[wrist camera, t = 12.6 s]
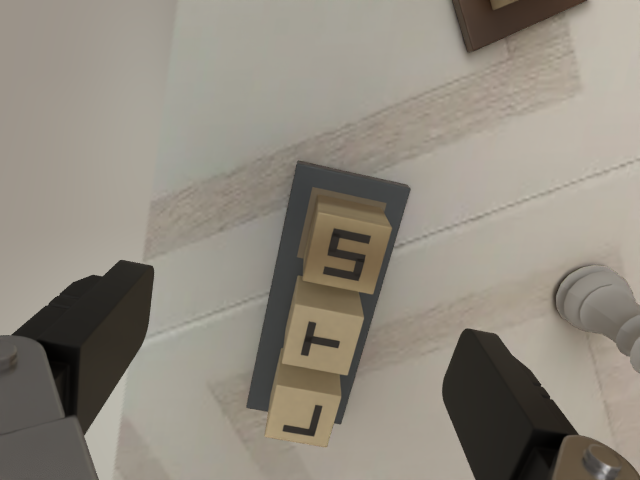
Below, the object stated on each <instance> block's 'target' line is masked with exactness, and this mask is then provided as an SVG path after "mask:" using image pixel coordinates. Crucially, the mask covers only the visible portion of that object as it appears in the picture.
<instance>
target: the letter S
mask: <svg viewBox="0 0 640 480" xmlns="http://www.w3.org/2000/svg"><path fill="white" fill-rule="evenodd" d="M391 231H392V227H391V225H390V223H389V221H388V219H387V217H386V216H385V214H384V212H383V210H382V208H380V207H375V206H370V205H366V204H361V203H356V202H352V201H347V200H342V199H338V198H333V197H329V196H324V195H317V199H316V204H315V208H314V212H313V217H312V221H311V226H310V230H309V235H308V239H307V244H306V248H305V252H304V263H303V278H302V280H303V281H307V282H312V283H317V284H322V285H327V286H332V287H337V288H342V289H347V290H352V291H357V292H362V293H367V294H373V293H374V289H375V286H376V282H377V279H378V276H379V272H380V269H381V265H382V262H383V258H384V255H385V251H386V248H387V244H388V241H389V237H390V234H391Z"/></svg>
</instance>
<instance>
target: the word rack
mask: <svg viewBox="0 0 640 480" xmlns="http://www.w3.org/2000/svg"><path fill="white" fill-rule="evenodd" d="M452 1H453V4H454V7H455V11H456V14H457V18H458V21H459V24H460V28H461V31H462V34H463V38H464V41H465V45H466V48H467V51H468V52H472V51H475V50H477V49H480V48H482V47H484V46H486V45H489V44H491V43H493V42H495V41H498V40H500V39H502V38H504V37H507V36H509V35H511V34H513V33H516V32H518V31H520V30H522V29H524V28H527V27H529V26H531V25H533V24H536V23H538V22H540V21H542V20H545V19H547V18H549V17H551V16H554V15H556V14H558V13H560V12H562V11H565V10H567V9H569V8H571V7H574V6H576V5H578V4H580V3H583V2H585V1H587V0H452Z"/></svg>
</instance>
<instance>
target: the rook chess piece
mask: <svg viewBox="0 0 640 480" xmlns="http://www.w3.org/2000/svg"><path fill="white" fill-rule="evenodd" d="M556 307H557V310H558V311H559V313H560V315H561V316H562V318H564V319H565V320H567V321H569V323H570V324H572V325H573V326H575V327H577V328H578V329H580V330H583V331H587V332H593V333H599V334H603V335H605V336H606V337H608V338H610V339H611V340H613V341H614V342H615V343H616V345H617V347H618V349H619V350H620V352H621V353H623V354H625V355H626V356H629V357H630V363H631V364H632V366H633V368H634V370H635V371H637V372H638V373H640V306H639V305H638V304H637V303H636V302H635V298H634V296H633V292H632V290H631V288H630V286H629V284H628V283H627V281H626V280H625V279H624V278H622V277H621V276H619V275H618V273H616V272H615V271H613V270H612V269H610V268H609V267H606V266H599V265H592V266H587V267H582V268H580V269H578V270H576V271H574V272H573V273H571V274H569V275H568V276H567V277H566V278H565V279H564V281H563V282H562V283H561V285H560V287H559V290H558V292H557V295H556Z"/></svg>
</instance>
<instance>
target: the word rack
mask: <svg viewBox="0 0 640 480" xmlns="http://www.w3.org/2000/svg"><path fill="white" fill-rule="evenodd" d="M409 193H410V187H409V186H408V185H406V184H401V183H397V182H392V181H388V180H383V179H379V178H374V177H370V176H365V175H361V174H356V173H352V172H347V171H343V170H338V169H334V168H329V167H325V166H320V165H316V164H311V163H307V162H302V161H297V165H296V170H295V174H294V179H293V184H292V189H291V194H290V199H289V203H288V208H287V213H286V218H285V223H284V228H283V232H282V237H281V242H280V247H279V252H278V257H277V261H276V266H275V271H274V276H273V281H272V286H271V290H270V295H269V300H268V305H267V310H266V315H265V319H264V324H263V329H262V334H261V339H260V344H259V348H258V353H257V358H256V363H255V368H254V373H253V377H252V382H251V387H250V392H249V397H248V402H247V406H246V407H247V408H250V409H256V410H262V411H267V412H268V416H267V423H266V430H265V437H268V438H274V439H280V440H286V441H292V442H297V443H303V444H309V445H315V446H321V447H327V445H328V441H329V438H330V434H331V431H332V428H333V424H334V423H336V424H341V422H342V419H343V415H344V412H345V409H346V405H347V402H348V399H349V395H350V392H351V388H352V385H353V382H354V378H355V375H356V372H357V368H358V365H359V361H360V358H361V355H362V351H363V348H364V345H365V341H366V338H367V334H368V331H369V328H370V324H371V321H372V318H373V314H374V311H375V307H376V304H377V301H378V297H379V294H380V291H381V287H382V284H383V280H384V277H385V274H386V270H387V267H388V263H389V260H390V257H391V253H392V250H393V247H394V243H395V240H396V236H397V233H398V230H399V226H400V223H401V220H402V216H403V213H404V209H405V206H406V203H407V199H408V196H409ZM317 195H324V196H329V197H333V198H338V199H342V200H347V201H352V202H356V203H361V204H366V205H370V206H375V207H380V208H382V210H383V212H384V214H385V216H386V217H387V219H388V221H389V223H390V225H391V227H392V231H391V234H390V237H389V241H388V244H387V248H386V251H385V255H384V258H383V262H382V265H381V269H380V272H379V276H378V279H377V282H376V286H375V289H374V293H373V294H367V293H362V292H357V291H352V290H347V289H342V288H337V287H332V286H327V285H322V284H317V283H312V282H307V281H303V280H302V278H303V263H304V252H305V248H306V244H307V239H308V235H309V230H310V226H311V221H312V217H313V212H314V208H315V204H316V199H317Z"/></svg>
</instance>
